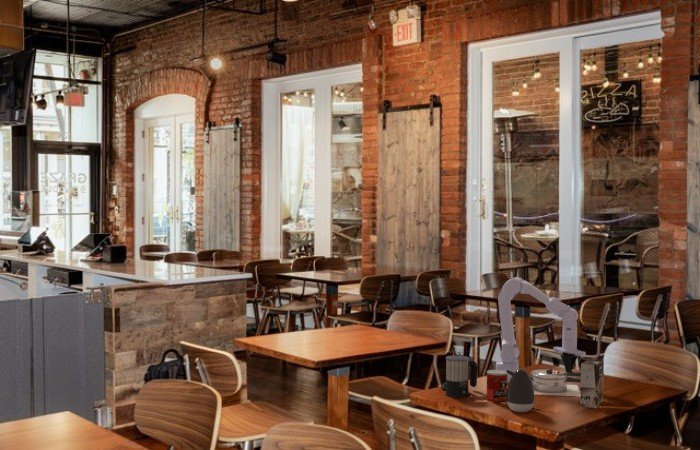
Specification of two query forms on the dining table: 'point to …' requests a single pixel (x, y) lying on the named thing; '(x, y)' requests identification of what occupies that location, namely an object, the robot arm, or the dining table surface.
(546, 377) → the lid
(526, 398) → the pump dispenser
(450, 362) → the milk frother
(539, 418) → the dining table surface
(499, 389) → the canned food
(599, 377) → the coffee box
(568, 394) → the board
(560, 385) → the pot
